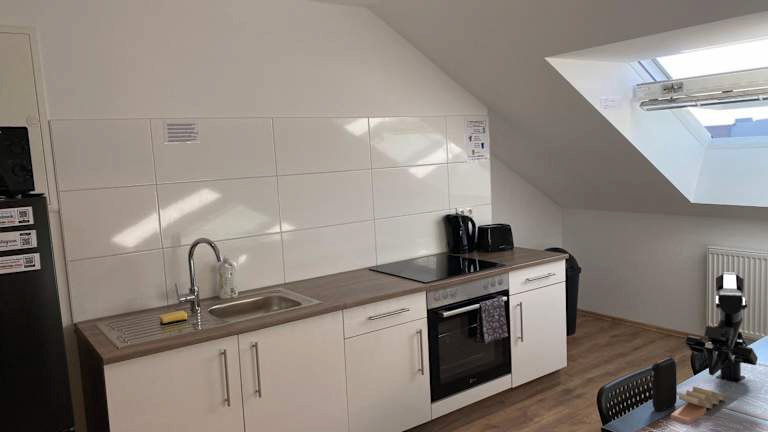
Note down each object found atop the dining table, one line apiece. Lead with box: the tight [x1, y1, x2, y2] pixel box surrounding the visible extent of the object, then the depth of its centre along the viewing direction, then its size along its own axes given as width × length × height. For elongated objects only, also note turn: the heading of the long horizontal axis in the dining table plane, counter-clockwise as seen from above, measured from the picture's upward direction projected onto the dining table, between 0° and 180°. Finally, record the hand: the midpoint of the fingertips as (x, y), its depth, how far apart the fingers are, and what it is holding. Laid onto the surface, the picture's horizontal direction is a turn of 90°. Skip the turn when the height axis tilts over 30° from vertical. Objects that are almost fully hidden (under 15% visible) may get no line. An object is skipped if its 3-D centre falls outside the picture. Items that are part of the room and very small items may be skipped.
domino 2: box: [670, 402, 706, 425], centre depth 167 cm, size 2×5×10 cm
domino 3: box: [685, 389, 720, 405], centre depth 172 cm, size 2×5×10 cm
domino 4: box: [692, 386, 727, 401], centre depth 175 cm, size 2×5×10 cm
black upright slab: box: [650, 357, 678, 412], centre depth 173 cm, size 11×3×15 cm, turn 123°
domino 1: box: [678, 393, 713, 409], centre depth 170 cm, size 2×5×10 cm
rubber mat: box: [679, 395, 738, 417], centre depth 175 cm, size 17×9×1 cm, turn 127°
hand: (710, 374), depth 175 cm, fingers closed
